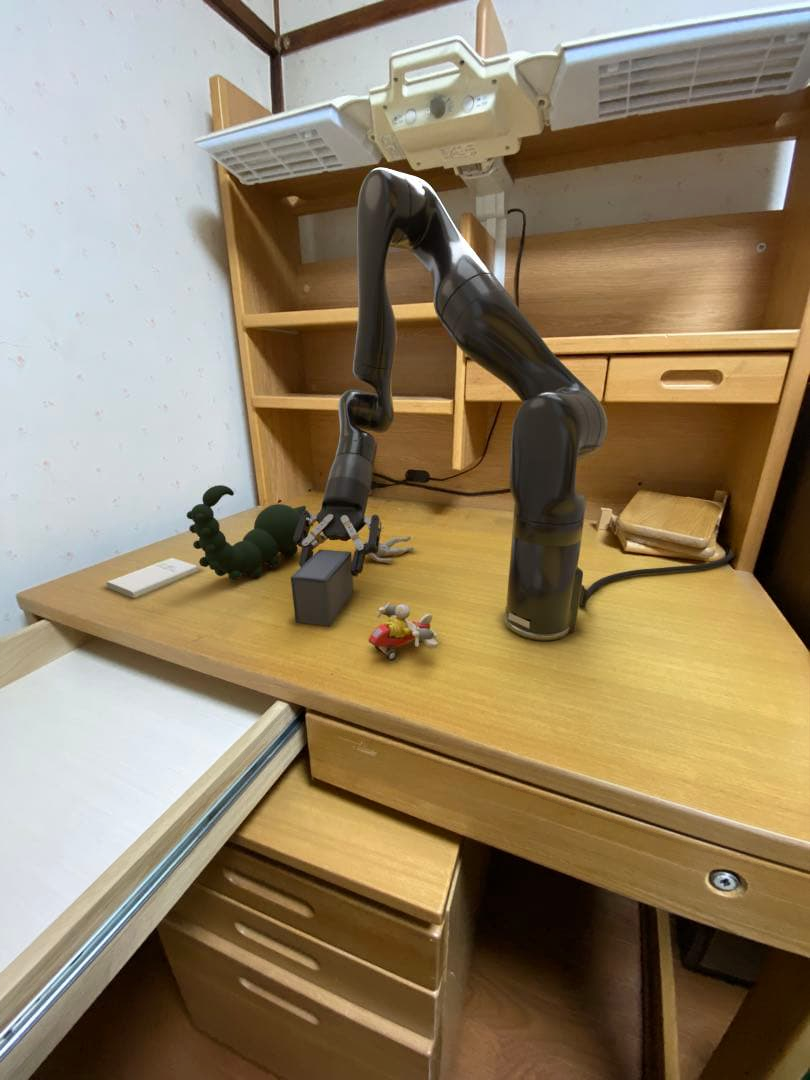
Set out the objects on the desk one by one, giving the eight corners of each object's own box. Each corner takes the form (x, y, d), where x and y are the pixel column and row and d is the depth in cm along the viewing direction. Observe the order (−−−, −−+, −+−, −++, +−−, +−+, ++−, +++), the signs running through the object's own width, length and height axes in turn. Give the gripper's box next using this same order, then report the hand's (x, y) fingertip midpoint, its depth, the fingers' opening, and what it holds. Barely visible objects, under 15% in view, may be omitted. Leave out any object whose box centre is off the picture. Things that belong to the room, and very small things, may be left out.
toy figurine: (231, 605, 78) (327, 546, 97) (204, 500, 70) (315, 458, 89) (197, 591, 83) (295, 538, 102) (168, 492, 75) (280, 454, 94)
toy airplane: (367, 661, 60) (365, 619, 58) (381, 625, 69) (380, 586, 66) (436, 667, 59) (437, 624, 57) (442, 630, 67) (443, 590, 65)
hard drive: (108, 589, 81) (172, 564, 91) (134, 600, 77) (198, 572, 87) (105, 581, 81) (170, 556, 91) (132, 591, 77) (197, 564, 87)
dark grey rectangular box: (323, 589, 80) (319, 549, 77) (353, 592, 79) (351, 551, 76) (295, 622, 70) (290, 576, 67) (330, 626, 69) (326, 580, 66)
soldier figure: (418, 561, 93) (371, 558, 85) (404, 571, 96) (357, 569, 89) (409, 528, 96) (362, 522, 89) (395, 538, 99) (349, 533, 92)
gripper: (303, 472, 79) (279, 560, 72) (383, 476, 76) (365, 568, 69) (317, 494, 85) (296, 576, 79) (392, 498, 83) (376, 584, 76)
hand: (328, 572), depth 74 cm, fingers open, 8 cm apart
